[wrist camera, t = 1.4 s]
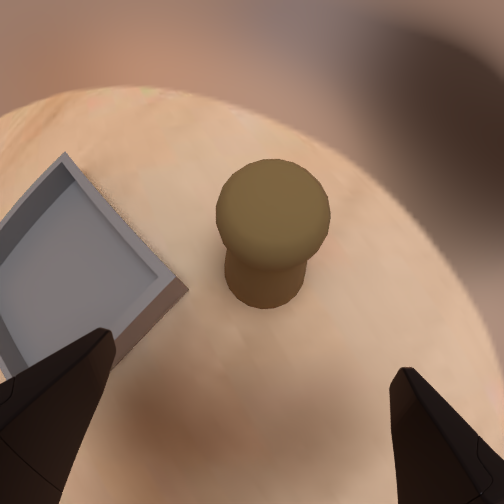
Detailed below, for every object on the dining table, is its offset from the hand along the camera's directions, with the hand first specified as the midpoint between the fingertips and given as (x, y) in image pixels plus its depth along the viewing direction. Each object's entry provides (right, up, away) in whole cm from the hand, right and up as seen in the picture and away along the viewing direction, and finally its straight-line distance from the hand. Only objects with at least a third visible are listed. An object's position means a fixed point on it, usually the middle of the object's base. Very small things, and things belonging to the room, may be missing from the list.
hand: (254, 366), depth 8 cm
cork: (+1, +2, +14) cm, 15 cm away
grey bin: (-16, 0, +14) cm, 21 cm away
